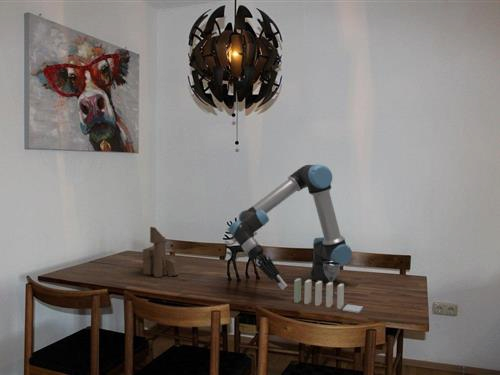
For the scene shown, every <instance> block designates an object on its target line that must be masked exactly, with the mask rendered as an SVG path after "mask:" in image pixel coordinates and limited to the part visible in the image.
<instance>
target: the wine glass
mask: <svg viewBox="0 0 500 375" xmlns="http://www.w3.org/2000/svg"><path fill="white" fill-rule="evenodd" d="M340 267H341V266H340V263H339V262H333V261H326V262H323V269H324V274H325V275H326V277H327V278H328V279H329V281H330V282H333V283H334V281H333V280H334V279H335V278H336V277H337V278H338V275H339V273H340V269H341V268H340ZM323 294H324V295H326V291H324V292H323ZM333 296H337V291H333Z"/></svg>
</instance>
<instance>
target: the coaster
mask: <svg viewBox="0 0 500 375" xmlns="http://www.w3.org/2000/svg"><path fill="white" fill-rule="evenodd" d="M363 308H364V306H362V305H361V306H360V305H355V304H348V303H347V304H346V305H344V306H343V307H342V311H343V312H349V313H357V314H360V312H361V311H362V310H363Z"/></svg>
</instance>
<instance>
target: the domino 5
mask: <svg viewBox="0 0 500 375" xmlns="http://www.w3.org/2000/svg"><path fill="white" fill-rule="evenodd" d="M336 289H337V291H336V292H337V295H336V297H337V298H336V310H341V309H343V308H344V307H345V305H344V304H345V303H344V301H345V284H344V283H341V282H340V284H338V285H337V287H336Z"/></svg>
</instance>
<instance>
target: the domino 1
mask: <svg viewBox="0 0 500 375" xmlns="http://www.w3.org/2000/svg"><path fill="white" fill-rule="evenodd" d="M293 290H294V292H293V303H296V304H297V303H299V302H301V300H302V278H299V277H298V278H296V279H295V280H294V283H293Z"/></svg>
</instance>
